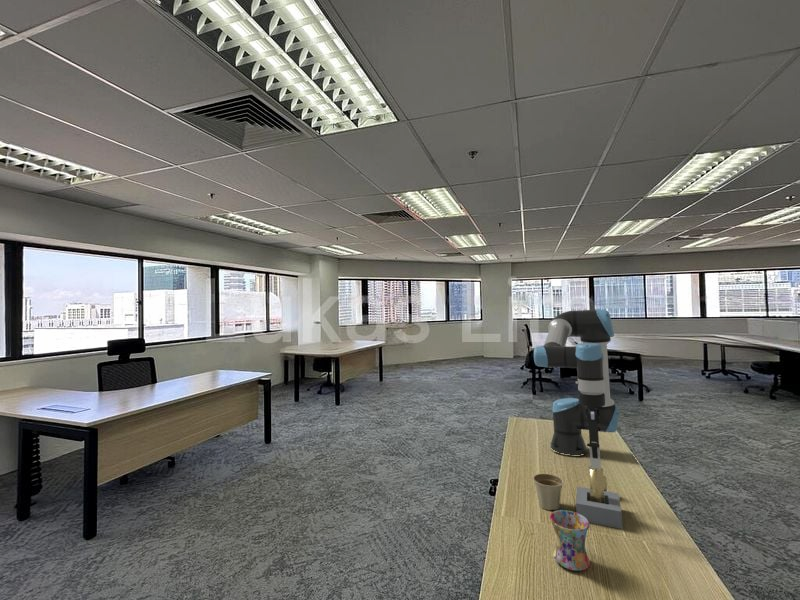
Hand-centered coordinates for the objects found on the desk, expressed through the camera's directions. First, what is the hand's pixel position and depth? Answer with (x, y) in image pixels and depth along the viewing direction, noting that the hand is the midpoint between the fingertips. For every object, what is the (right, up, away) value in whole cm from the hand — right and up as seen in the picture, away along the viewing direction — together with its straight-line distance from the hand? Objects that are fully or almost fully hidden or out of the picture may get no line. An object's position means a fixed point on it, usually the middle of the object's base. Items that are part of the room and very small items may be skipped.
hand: (595, 459), depth 115 cm
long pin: (0, -17, -1) cm, 17 cm away
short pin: (+8, -17, +11) cm, 22 cm away
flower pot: (-13, -18, +5) cm, 22 cm away
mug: (-18, -17, -21) cm, 32 cm away
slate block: (0, -17, -1) cm, 17 cm away
